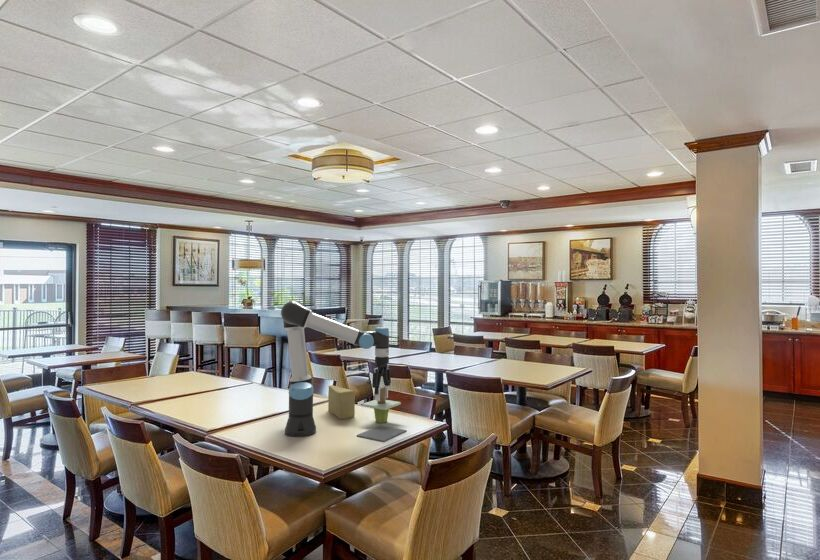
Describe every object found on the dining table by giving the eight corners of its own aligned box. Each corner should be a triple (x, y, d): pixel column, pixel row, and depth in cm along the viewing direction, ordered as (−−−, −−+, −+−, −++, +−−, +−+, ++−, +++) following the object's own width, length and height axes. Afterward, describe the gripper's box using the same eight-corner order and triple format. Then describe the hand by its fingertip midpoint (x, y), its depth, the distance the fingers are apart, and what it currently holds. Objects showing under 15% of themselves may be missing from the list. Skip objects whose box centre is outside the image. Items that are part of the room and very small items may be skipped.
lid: (385, 410, 244) (385, 392, 244) (361, 406, 252) (362, 388, 252) (400, 404, 257) (400, 387, 257) (378, 400, 265) (378, 384, 265)
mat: (383, 441, 219) (383, 440, 219) (356, 436, 228) (356, 435, 228) (406, 431, 236) (406, 430, 236) (380, 426, 245) (380, 425, 245)
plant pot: (372, 419, 258) (372, 403, 259) (389, 419, 259) (390, 403, 259) (372, 424, 249) (372, 407, 249) (390, 423, 250) (390, 407, 250)
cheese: (321, 411, 275) (321, 385, 275) (336, 409, 280) (336, 383, 281) (339, 419, 257) (339, 392, 257) (355, 417, 263) (355, 390, 263)
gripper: (377, 358, 245) (376, 403, 244) (397, 354, 261) (397, 396, 261) (365, 357, 249) (364, 401, 248) (386, 353, 265) (386, 394, 265)
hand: (381, 398), depth 254 cm, fingers open, 7 cm apart
